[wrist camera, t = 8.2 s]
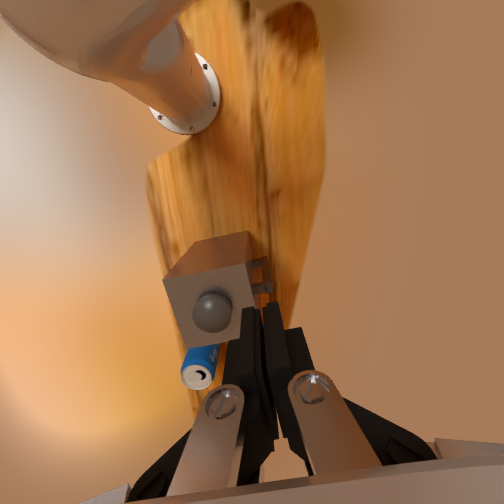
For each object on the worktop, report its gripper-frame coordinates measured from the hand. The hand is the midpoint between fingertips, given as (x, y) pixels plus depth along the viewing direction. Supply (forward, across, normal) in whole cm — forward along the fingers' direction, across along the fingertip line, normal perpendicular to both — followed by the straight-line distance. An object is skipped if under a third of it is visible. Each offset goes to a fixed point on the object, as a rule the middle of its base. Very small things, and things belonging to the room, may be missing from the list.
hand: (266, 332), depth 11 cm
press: (+39, +7, +9) cm, 41 cm away
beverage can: (+39, +17, +26) cm, 50 cm away
